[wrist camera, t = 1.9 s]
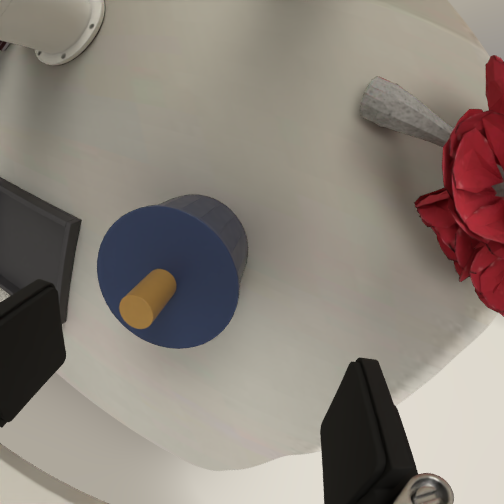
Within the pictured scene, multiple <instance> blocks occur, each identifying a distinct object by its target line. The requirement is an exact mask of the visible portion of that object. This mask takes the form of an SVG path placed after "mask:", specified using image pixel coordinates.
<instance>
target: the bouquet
mask: <svg viewBox="0 0 504 504" xmlns="http://www.w3.org/2000/svg"><path fill="white" fill-rule="evenodd" d="M486 97H487V100H488V107H489V111H486V112H483V111H482V109H469V110H468V111H467V112H466V113H465V114H464V115H463V116H462V117H461V118H460V119H459V121H458V123H457V124H456V126H455V128H452V127H451V126H450V125H449V124H447V123H446V122H445V121H443V120H442V119H441V118H440V117H438V116H437V115H436V114H435V113H434V112H433V111H431V110H430V109H429V108H428V107H427V106H425V105H424V104H423V103H422V102H421V101H419V100H418V99H417V98H415V97H414V96H413V95H412V94H410V93H409V92H407V91H406V90H404V89H403V88H401V87H400V86H399V85H398V84H395V83H392V82H390V81H388V80H386V79H383V78H382V77H378V76H377V77H375V78H374V79H373V80H372V81H371V82H370V83H369V85H368V86H367V88H366V90H365V92H364V95H363V98H362V101H361V108H360V112H361V116H362V117H363V118H365V119H368V120H370V121H372V122H374V123H376V124H378V126H379V127H380V126H383V127H386V128H389V129H392V130H394V131H398V132H401V133H404V134H407V135H410V136H414V137H417V138H420V139H423V140H426V141H429V142H432V143H434V144H437V145H439V146H441V147H443V158H442V171H443V182H444V187H445V188H442V189H440V190H437V191H434V192H431V193H428V194H426V195H423V196H420V197H419V198H418V199H417V201H416V202H415V203H414V204H415V207H416V208H417V212H418V213H419V214H420V216H419V217H421V218H422V222H423V223H424V224H425V225H426V226H427V227H431V228H432V230H433V231H434V232H435V233H436V235H437V240H438V242H439V245H440V247H441V250H442V251H443V252H444V254H445V255H446V256H447V258H448V259H449V260H452V261H454V265H455V269H456V272H457V273H458V274H459V276H460V277H459V282H462V281H463V280H465V279H466V278H467V277H469V276H470V277H471V280H472V283H473V286H474V287H475V292H476V293H477V295H478V297H479V299H480V300H481V301H482V302H483V303H484V304H485V305H486V306H487V307H488V308H490V309H492V310H494V311H496V312H499V313H500V314H501V315H502V316H504V62H503V60H502V59H501V58H499V57H497V56H495V55H493V56H491V57H490V59H489V61H488V63H487V64H486Z"/></svg>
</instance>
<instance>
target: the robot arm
mask: <svg viewBox="0 0 504 504" xmlns="http://www.w3.org/2000/svg"><path fill="white" fill-rule="evenodd" d="M104 12H105V4H104V0H0V40H1V41H5V42H9V43H13V44H17V45H21V46H24V47H28V48H32V49H34V50H35V53H36V56H37V58H38V59H39V60H40V61H41V62H43V63H45V64H48V65H61V64H64V63H67V62H68V61H70V60H72V59H74V58H75V57H76V56H78V55H79V54H80V53H81V52H82V51H83V50H84V49H85V48H86V47H87V46H88V45H89V44H90V43H91V41H92V40H93V38H94V37H95V35H96V34H97V32H98V30H99V28H100V26H101V23H102V21H103V17H104ZM65 359H66V351H65V345H64V338H63V331H62V324H61V316H60V307H59V296H58V291H57V290H56V288H55V286H54V284H53V283H50V282H48V281H45V280H42V279H37V280H35V281H34V282H32V283H30V284H29V285H27V286H26V287H24V288H22V289H21V290H19V291H18V292H16V293H14V294H13V295H11V296H10V297H8V298H7V299H5V300H4V301H2V302H0V427H3V426H4V425H5V424H6V423H7V422H10V421H12V420H13V419H14V417H15V416H16V415H17V414H18V413H19V412H20V411H21V409H22V408H23V407H24V406H25V405H26V404H27V403H28V402H29V400H30V399H31V398H32V397H33V396H34V395H35V394H36V393H37V392H38V390H39V389H40V388H41V387H42V386H43V385H44V384H45V383H46V382H47V380H48V379H49V378H50V377H51V376H52V375H53V374H54V373H55V372H56V371H57V370H58V369H59V368H60V367H61V365H62V364H63V363H64V361H65ZM320 434H321V449H322V465H323V482H324V504H453V502H454V495H453V491H452V489H451V487H450V485H449V484H448V483H447V482H446V481H445V480H444V479H443V478H441V477H440V476H437V475H434V474H430V473H423V474H418V473H417V470H416V465H415V462H414V459H413V455H412V452H411V449H410V446H409V443H408V440H407V436H406V433H405V430H404V427H403V424H402V421H401V418H400V415H399V413H398V410H397V408H396V406H395V405H394V404H393V401H392V398H391V395H390V392H389V389H388V387H387V384H386V381H385V378H384V376H383V373H382V370H381V367H380V365H379V362H378V361H377V360H374V359H366V358H358V359H357V360H356V362H351V363H350V364H349V366H348V368H347V371H346V373H345V375H344V377H343V380H342V382H341V384H340V386H339V388H338V391H337V393H336V395H335V397H334V399H333V401H332V403H331V405H330V407H329V409H328V411H327V413H326V416H325V418H324V420H323V422H322V425H321V430H320ZM0 504H108V503H106V502H103V501H101V500H99V499H97V498H94V497H92V496H90V495H88V494H86V493H84V492H81V491H79V490H78V489H75V488H73V487H71V486H70V485H68V484H66V483H64V482H62V481H60V480H58V479H56V478H54V477H53V476H51V475H49V474H47V473H46V472H44V471H42V470H41V469H39V468H37V467H36V466H34V465H32V464H30V463H29V462H27V461H26V460H24V459H22V458H21V457H20V456H18V455H17V454H15V453H14V452H12V451H11V450H9V449H8V448H6V447H5V446H3V445H2V444H1V443H0Z"/></svg>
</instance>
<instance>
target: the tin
mask: <svg viewBox="0 0 504 504" xmlns="http://www.w3.org/2000/svg"><path fill="white" fill-rule="evenodd" d="M159 205H166V206H172V207H177V208H180V209H183V210H186V211H189V212H191V213H192V214H194V215H196V216H198V217H200V218H201V219H203V220H204V221H205V222H207V223H208V224H209V225H210V226H211V227H213V228H214V229H215V230H216V231H217V233H218V234H219V235H220V236H221V237H222V238H223V240H224V241H225V243H226V244H227V246H228V247H229V249H230V251H231V253H232V255H233V257H234V260H235V263H236V266H237V270H238V274H239V283H240V280H241V278H242V275H243V272H244V269H245V266H246V263H247V257H248V242H247V237H246V234H245V231H244V228H243V226H242V224H241V222H240V221H239V219H238V218H237V216H236V215H235V214H234V213H233V212H232V211H231V210H230V209H229V208H228V207H227V206H225V205H224V204H223V203H221V202H219V201H217V200H215V199H213V198H210V197H207V196H203V195H185V196H180V197H177V198H173V199H170V200H168V201H166V202H163V203H161V204H159Z"/></svg>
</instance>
